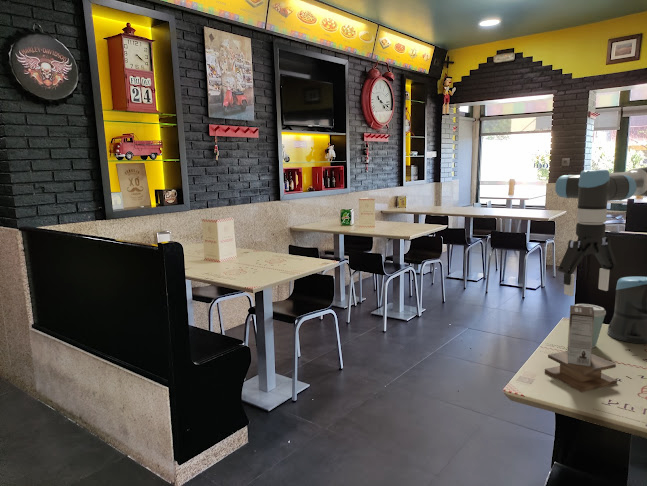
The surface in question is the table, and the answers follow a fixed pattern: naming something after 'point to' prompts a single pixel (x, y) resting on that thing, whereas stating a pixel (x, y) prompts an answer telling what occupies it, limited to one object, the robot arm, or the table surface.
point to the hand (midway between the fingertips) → (586, 292)
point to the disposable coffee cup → (596, 320)
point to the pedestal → (581, 372)
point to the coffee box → (580, 335)
